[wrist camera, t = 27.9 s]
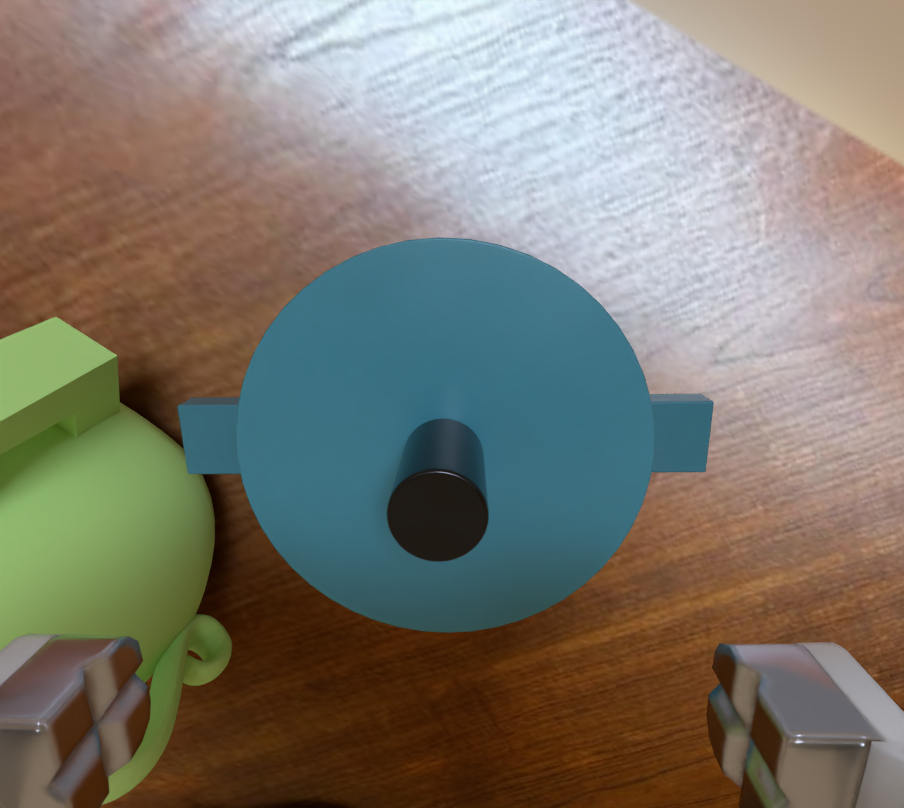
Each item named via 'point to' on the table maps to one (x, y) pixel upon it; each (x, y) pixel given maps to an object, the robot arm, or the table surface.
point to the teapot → (102, 524)
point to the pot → (675, 415)
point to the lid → (445, 435)
